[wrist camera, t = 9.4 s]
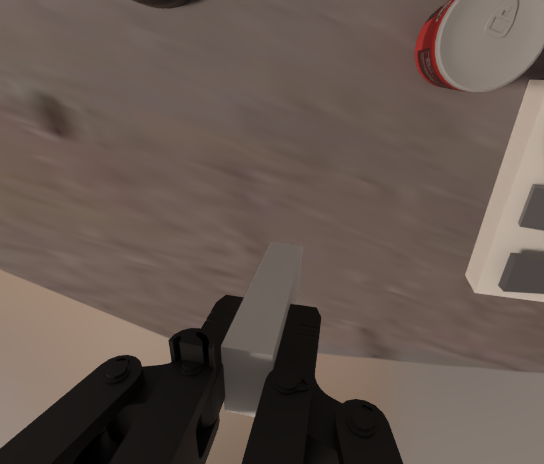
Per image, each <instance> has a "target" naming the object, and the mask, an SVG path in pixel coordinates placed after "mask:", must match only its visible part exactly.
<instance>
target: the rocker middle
mask: <svg viewBox="0 0 544 464" xmlns="http://www.w3.org/2000/svg"><path fill="white" fill-rule="evenodd" d="M518 224H519V226H520V227H524V228H530V229H536V230H542V231H544V186H543V185H535V184H532V187H531V190H530V192H529V195H528V198H527V200H526V203H525V205H524V208H523V211H522V213H521V216H520V219H519V221H518Z"/></svg>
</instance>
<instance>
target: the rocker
mask: <svg viewBox="0 0 544 464" xmlns="http://www.w3.org/2000/svg"><path fill="white" fill-rule="evenodd" d="M498 286H499V287H500V288H501V289H502V290H503V292H519V293H535V294H544V254H528V253H510V255H509V258H508V260H507V263H506V266H505V268H504V271H503V273H502V276H501V279H500V281H499V284H498Z"/></svg>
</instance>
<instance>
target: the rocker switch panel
mask: <svg viewBox="0 0 544 464" xmlns="http://www.w3.org/2000/svg"><path fill="white" fill-rule="evenodd" d="M532 184H535V185H543V186H544V80H529V82H528V85H527V88H526V91H525V94H524V97H523V100H522V103H521V106H520V109H519V112H518V116H517V119H516V122H515V125H514V128H513V131H512V134H511V137H510V140H509V143H508V146H507V149H506V152H505V155H504V158H503V161H502V164H501V167H500V170H499V174H498V177H497V180H496V183H495V186H494V189H493V192H492V195H491V198H490V201H489V204H488V207H487V210H486V213H485V216H484V219H483V222H482V225H481V228H480V231H479V235H478V238H477V241H476V244H475V247H474V250H473V253H472V256H471V259H470V262H469V265H468V268H467V271H466V274H465V276H466V278H467V280H468V282H469V283H470V285H471V287H472V289H473V291H474V292H475V293H480V294H487V295H495V296H502V297H510V298H517V299H525V300H532V301H540V302H544V294H535V293H519V292H503V290H502V289H501V288H500V287H499V286H498V284H499V281H500V279H501V276H502V273H503V271H504V268H505V266H506V263H507V260H508V258H509V255H510V253H528V254H544V231H542V230H536V229H530V228H524V227H520V226H519V224H518V221H519V219H520V216H521V213H522V211H523V208H524V205H525V203H526V200H527V198H528V195H529V192H530V190H531V187H532Z"/></svg>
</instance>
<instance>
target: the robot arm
mask: <svg viewBox="0 0 544 464" xmlns="http://www.w3.org/2000/svg"><path fill="white" fill-rule="evenodd" d="M133 1H136V2H138V3H141V4H144V5H147V6H150V7H154V8H172V7H176V6H179V5H182V4H184V3H186V2H188V1H189V0H133ZM302 255H303V245H295V244H286V243H278V242H270V244H269V246H268V248H267V250H266V252H265V254H264V257H263V259H262V261H261V263H260V265H259V267H258V269H257V271H256V273H255V275H254V278H253V280H252V282H251V284H250V286H249V288H248V290H247V292H246V294H245V297H237V296H231V295H225V296H224V297H223V298H221V299H220V300H219V301H217V302H216V304H215V305H214V307H213V309H212V311H211V313H210V314H209V316H208V317H207V320H206V321H205V323H204V324H203V326H202V328H201V329H200V328H190V329H186V330H182V331H180V332H178V333H176V334H174V335H173V336H172V337H171V338H170V339H169V347H170V353H171V360H172V362H171V363H168V364H164V365H156V366H146V367H142V365H141V362H140V360H139V359H137V358H136V357H134V356H129V355H122V356H117V357H114V358H111V359H109V360H108V361H106V362H104V363H103V364H101V365H100V366H99V367H98V368H96V369H95V370H94V371H93V372H92V373H91V374H89V375H88V376H87V377H86V378H85V379H83V380H82V381H81V382H80V383H78V384H77V385H76V386H75V387H74V388H73V389H71V390H70V391H69V392H68V393H66V394H65V395H64V396H63V397H62V398H60V399H59V400H58V401H57V402H56V403H54V404H53V405H52V406H51V407H50V408H48V409H47V410H46V411H45V412H44V413H43V414H41V415H40V416H39V417H38V418H36V419H35V420H34V421H33V422H32V423H30V424H29V425H28V426H27V427H26V428H24V429H23V430H22V431H21V432H20V433H18V434H17V435H16V436H15V437H14V438H12V439H11V440H10V441H9V442H8V443H7V444H5V445H4V446H3V447H2V448H0V464H205V462H206V460H207V457H208V455H209V452H210V449H211V446H212V444H213V441H214V438H215V435H216V433H217V430H218V427H219V421H220V419H219V412H220V409H221V407H222V404H223V402H224V404H225V411H230V412H234V413H239V414H243V415H248V416H253V417H255V419H254V422H253V425H252V429H251V433H250V436H249V440H248V443H247V447H246V450H245V454H244V457H243V461H242V464H403V462H402V459H401V456H400V453H399V450H398V448H397V445H396V442H395V439H394V437H393V434H392V432H391V428H390V426H389V423H388V421H387V419H386V417H385V415H384V414H383V413H382V411H380V410H379V409H378V408H377V407H376V406H375V405H373V404H371V403H369V402H367V401H365V400H358V399H353V400H348V401H346V402H344V403H343V404H342V403H340V402H339V401H337V400H335V399H333V398H331V397H330V396H328V395H327V394H325V393H324V392H323V391H322V390H321V389H320V387H319V386H318V384H317V382H316V379H315V368H316V359H317V351H318V342H319V333H320V324H321V316H320V314H319V312H318V309H317V308H316V307H309V306H302V305H298V300H299V296H300V283H301V269H302Z"/></svg>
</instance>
